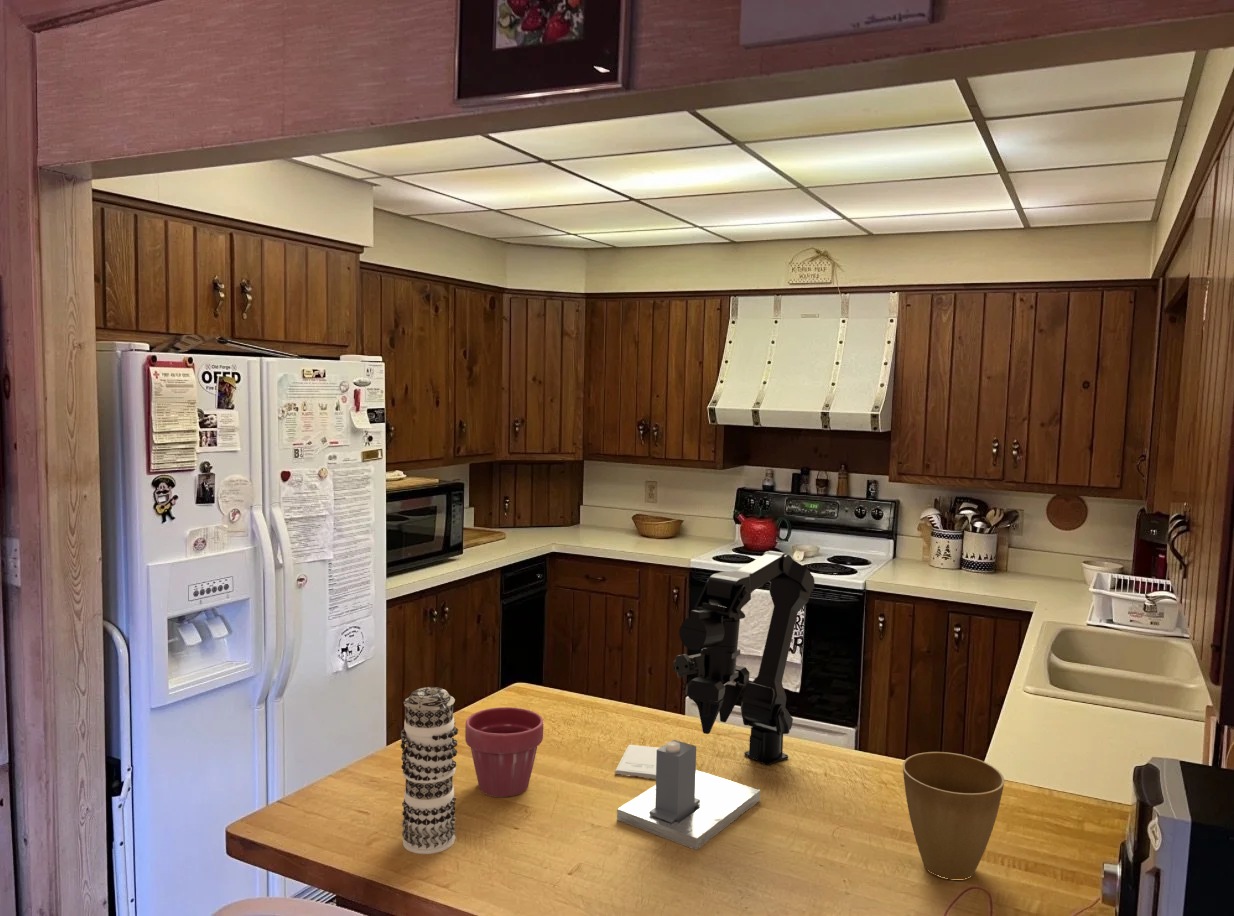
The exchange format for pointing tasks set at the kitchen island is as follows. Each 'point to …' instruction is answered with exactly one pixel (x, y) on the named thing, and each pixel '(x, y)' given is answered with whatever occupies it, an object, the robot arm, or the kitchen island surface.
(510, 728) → the plant pot
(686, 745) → the block
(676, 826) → the plate
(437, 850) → the decorative candle
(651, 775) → the external hard drive
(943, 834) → the plant pot
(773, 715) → the robot arm
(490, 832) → the kitchen island surface
